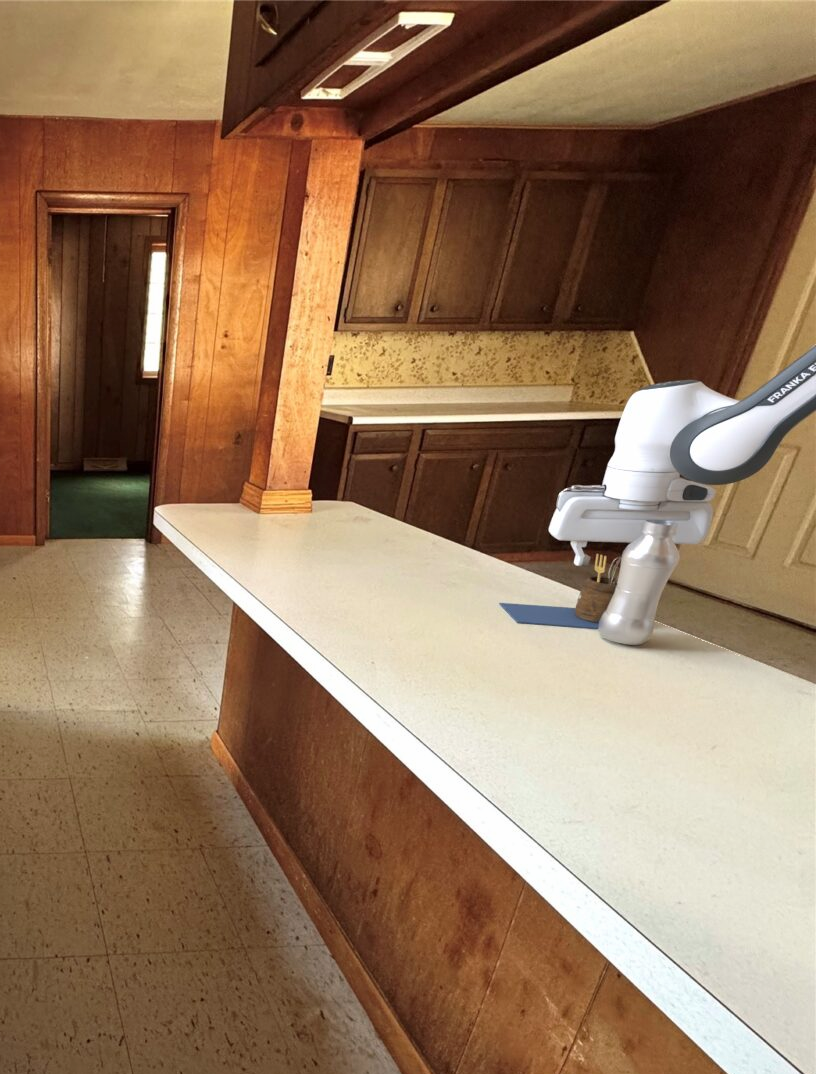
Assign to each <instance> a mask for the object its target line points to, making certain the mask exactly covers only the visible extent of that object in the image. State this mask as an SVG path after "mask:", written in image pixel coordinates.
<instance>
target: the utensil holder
mask: <svg viewBox="0 0 816 1074" xmlns="http://www.w3.org/2000/svg"><path fill="white" fill-rule="evenodd" d="M617 559H618V560H617ZM621 559H622V557H620V556H618V557H616V558H614V560H613V561H612V563H611V564H610V566H609V569H608V571H607V572H608V574H607V576H605V575H602V574H604V573H605V572H606V569H607V555H604V556H603V554H599V553H596V554H595V563H594V571H595V572H596V573H597V575H591V576H588V577H587V578H586V581H585V586H583V587H582V588H581V589H580V592H579V594H578V597H577V601H576V604H575V607H574V608H575V615H576V616H577V617H579V618H580V619H583V620H586V621H589V622H594V623H599V621H600V619H601V617H602V615H603V613H604V612H605V610H606V609H607V607H608V605H609V603H610V601H611V599H612V596H613V594H614V592H615V589H616V586H617V581H618V576H619V573H620V571H619V572H618V574H617V576H616V577H614V576H615V573H616V569H617V568H618V565H619V564H620V563H621ZM615 560H617V561H616V564H615V565H614V567H613V570H612V573H611V569H612V566H613V564H614V562H615ZM614 569H615V570H614ZM610 573H611V574H612V575H611V574H610ZM610 575H611V576H610Z"/></svg>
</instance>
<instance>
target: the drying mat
mask: <svg viewBox="0 0 816 1074" xmlns="http://www.w3.org/2000/svg"><path fill="white" fill-rule="evenodd" d="M498 604H499V606H500V607H501V608H502V609H503V610H504V611H505V612H506V613H507V614H508V615H509V616H510V618H512V619H513V620H514V622H515V623H516V624H523V625H525V624H526V625H538V626H550V627H551V626H552V627H563V628H576V629H589V630H598V626H599V623H594V622H589V621H586V620H583V619H580V618H579V617H577V616H576V615H575V607H568V606H567V607H566V606H553V605H551V606H550V605H538V604H525V603H523V604H522V603H511V602H510V603H508V602H499V603H498Z"/></svg>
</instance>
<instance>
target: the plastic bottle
mask: <svg viewBox="0 0 816 1074" xmlns="http://www.w3.org/2000/svg"><path fill="white" fill-rule="evenodd" d="M677 526H678V523H676V522H673V521H668V520H660V519H648V520H646V521H645V523H644V526H643V528H642V530H641V532H642V533H643V535H642V536H641V537H639V538H637V539H636V540H634V541H633V542H632V543H628V545H627V546H626V547H625V548H624V550H623V551H622V554H621V558H622V559H621V560H620V568H619V572H620V573H619V572H618V574H619V575H618V576H617V579H618V581H617V586H616V589H615V592H614V594H613V596H612V599H611V601H610V603H609V605H608V607H607V609H606V610H605V612H604V613H603V615H602V617H601V619H600V621H599V626H598V629H597V630H598V633H599V635H600V636H601V637H602V638H604V639H605V640H607V641H611V642H613V643H618V644H622V645H630V646H631V645H633V646H634V645H637V646H639V645H642V644H644V643H646V642H648V640H650V638H651V636H652V634H653V633H654V631H655V625H656V618H655V617H656V615H657V611H658V606H659V602H660V598H661V596H662V594H663V591H664V589H665V587H666V585H667V583H668V580H669V579H670V577H671V575H672V574H673V572H674V570H675V568H676V567H677V565H678V563H679V561H680V560H681V559H680V551H679V549H678V548H677V547H678V546H677V544H674V542H673V541H672V537H673V536H675V535H676V529H677Z"/></svg>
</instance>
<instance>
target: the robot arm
mask: <svg viewBox="0 0 816 1074" xmlns="http://www.w3.org/2000/svg"><path fill="white" fill-rule="evenodd" d="M815 412H816V343H815V344H814V345H813V346H812V347H810V348H809V349H808V350H807V351H806V352H805V353H803V354H802V355H801V356H799V357H798V358H797V359H795V360H794V361H793V362H791V363H790V364H789V365H787V366H786V367H785V368H784V369H782V370H781V371H780V372H778V373H777V374H776V375H774V376H773V377H772V378H770V379H769V380H768V381H766V382H765V383H764V384H763V385H761V386H760V387H759V388H758V389H756V390H754V391H753V392H751V394H750V395H748V396H746V397H745V398H743V399H742V400H738V399H735V398H732V397H730V396H727V395H724V394H722V393H720V392H717V391H715V390H714V389H712V388H710V387H708V386H707V385H705V384H704V383H703V382H702V381H700V380H696V379H679V380H671V381H665V382H658V383H653V384H649V385H646V386H644V387H641V388H640V389H638V390H636V391H635V392H634V393H632V394H631V396H630V397H629V399H628V401H627V402H626V404H625V406H624V409H623V412H622V413H621V416H620V420H619V423H618V426H617V429H616V433H615V437H614V451H613V454H612V456H611V457H610V459H609V461H608V462H607V465H606V469H605V473H604V477H603V480H602V484H590V485H589V484H588V485H582V484H572V485H571V486H570V487H567V488H564V489H562V490H561V491H560V492H559V494H558V495H557V500H556V503H555V505H556V509H555V510H554V512H553V516H552V517H551V520H550V523H549V526H548V532H549V534H550V536H552V537H553V538H555V539H557V540H558V541H569V542H570V546H571V548H572V550H573V552H574V554H575V556H574V559H573V565H575V566H577V567H588V566H589V565H590V562H591V558H592V557H591V556H590V555H588V554H587V553H585V552H584V550H583V548H586V547H587V544H588V542H596V543H599V542H601V543H628V544H630V543H632V542H633V541H634V540H636V539H637V538H639V537H641V536H642V535H643V533H642V532H641V530H642V528H643V526H644V523H645V521H646V520H648V519H660V520H668V521H673V522H676V523H678V526H677V529H676V535H675V536H673V537H672V541H673V542H674V544H675V545H691V546H697V545H699V544H701V543H702V542H703V541H704V540H706V539H707V538H708V534H709V532H710V529H711V525H712V521H713V514H714V513H713V512H714V509H713V506H712V505H711V503H709V502H710V501H713V499H714V498H715V496H716V492H717V490H716V489H715V488H713V487H712V486H724V485H730V484H734V483H738V482H740V481H743V480H746V479H749V478H750V477H753V476H754V475H756V474H757V473H759V472H760V471H761V470H762V469H763V468H764V467H765V466H766V465H767V464H768V463H769V461H770V460H771V458H772V457H773V455H774V454H775V452H776V451H777V449H778V447H779V446H780V445H781V443H782V442H783V439H784V438H785V437H786V436H787V435H788V434H789V433H790V432H791V431H792V430H793V429H794V428H795V427H796V426H797V425H799V424H800V423H801V422H803V421H804V420H805V419H807V418H808V417H809V416H811V415H812V414H813V413H815Z"/></svg>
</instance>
